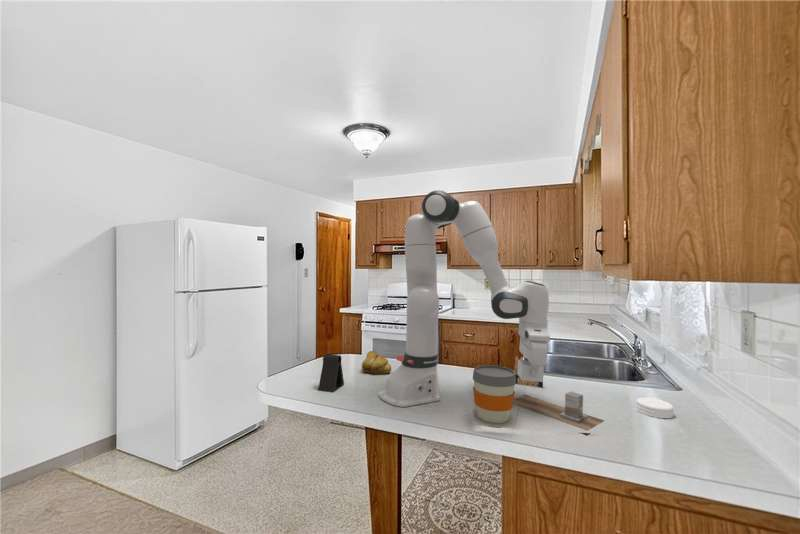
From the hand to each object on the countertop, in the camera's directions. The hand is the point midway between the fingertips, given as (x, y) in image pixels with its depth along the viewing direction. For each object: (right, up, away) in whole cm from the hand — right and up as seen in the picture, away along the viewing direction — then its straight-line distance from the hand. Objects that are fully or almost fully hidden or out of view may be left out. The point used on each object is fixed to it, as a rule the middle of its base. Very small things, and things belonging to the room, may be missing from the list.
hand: (530, 372), depth 121 cm
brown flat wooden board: (+5, -12, -6) cm, 14 cm away
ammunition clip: (+6, -12, +19) cm, 23 cm away
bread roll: (-53, -10, +35) cm, 64 cm away
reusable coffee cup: (-15, -11, -11) cm, 22 cm away
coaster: (+40, -13, -1) cm, 42 cm away
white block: (0, -2, 0) cm, 2 cm away
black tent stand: (-68, -10, +14) cm, 70 cm away
